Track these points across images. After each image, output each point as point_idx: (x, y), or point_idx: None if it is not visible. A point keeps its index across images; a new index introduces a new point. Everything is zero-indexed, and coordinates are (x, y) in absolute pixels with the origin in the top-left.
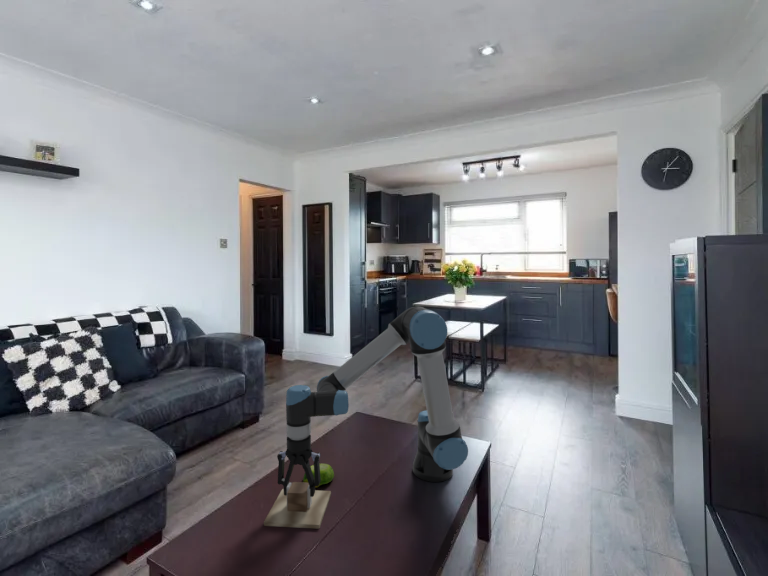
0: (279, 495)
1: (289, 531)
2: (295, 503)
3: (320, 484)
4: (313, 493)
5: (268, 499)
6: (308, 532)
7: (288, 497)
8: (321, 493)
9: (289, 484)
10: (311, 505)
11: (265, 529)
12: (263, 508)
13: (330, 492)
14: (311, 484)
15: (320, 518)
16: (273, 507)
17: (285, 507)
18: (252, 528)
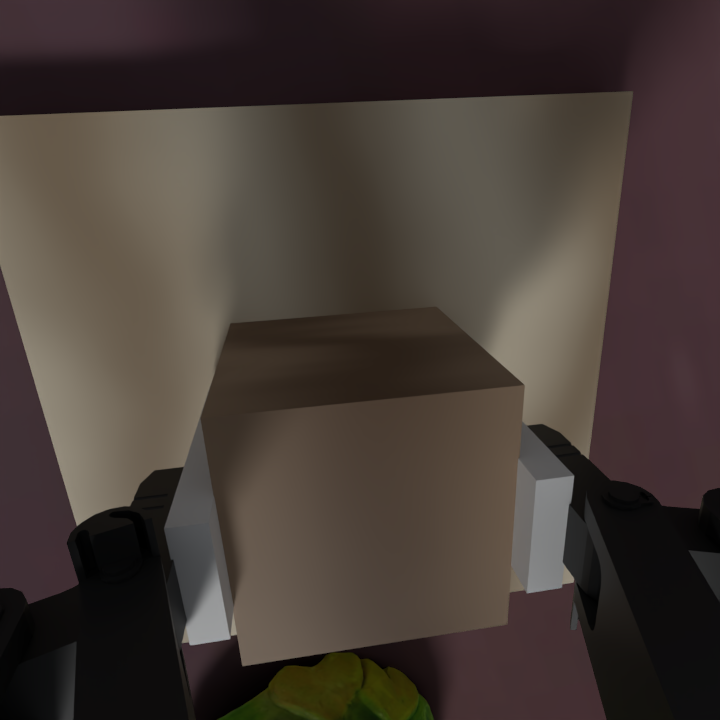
0: None
1: (314, 33)
2: (361, 340)
3: (252, 701)
4: (139, 498)
5: (648, 458)
6: (85, 39)
7: (476, 360)
8: None
9: (545, 546)
10: None
11: (577, 39)
12: (664, 343)
13: None
14: (111, 595)
15: (8, 241)
16: (589, 334)
17: None
18: (707, 40)
